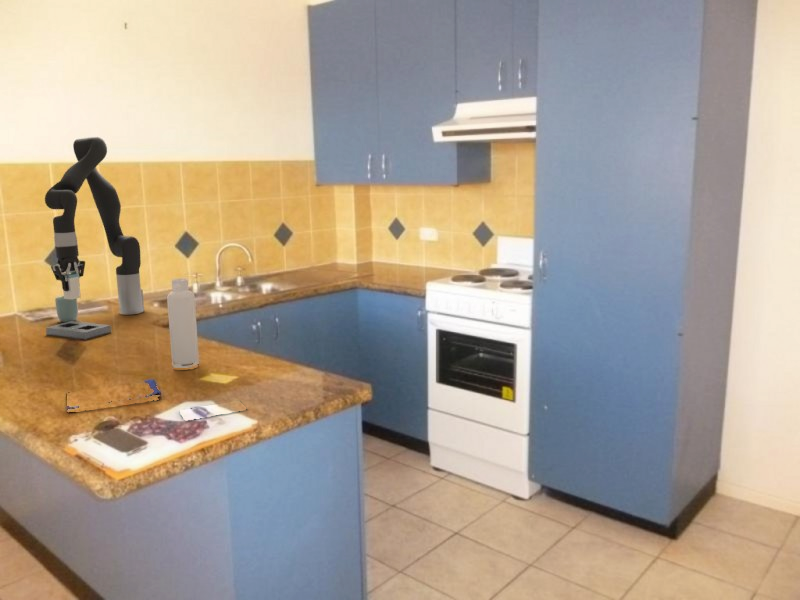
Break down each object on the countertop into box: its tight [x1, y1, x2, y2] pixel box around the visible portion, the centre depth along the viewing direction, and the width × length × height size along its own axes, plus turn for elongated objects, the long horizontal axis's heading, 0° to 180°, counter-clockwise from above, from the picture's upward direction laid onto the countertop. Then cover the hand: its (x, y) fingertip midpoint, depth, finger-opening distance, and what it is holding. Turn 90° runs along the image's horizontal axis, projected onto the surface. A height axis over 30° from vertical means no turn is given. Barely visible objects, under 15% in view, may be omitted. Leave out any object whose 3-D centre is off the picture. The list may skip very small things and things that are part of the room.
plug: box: [62, 273, 81, 300], centre depth 252 cm, size 4×4×9 cm
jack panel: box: [45, 320, 112, 341], centre depth 254 cm, size 12×20×3 cm, turn 66°
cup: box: [54, 295, 79, 323], centre depth 275 cm, size 8×8×10 cm
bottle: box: [166, 277, 200, 368], centre depth 209 cm, size 8×8×28 cm
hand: (71, 289), depth 252 cm, fingers closed on plug, 4 cm apart
